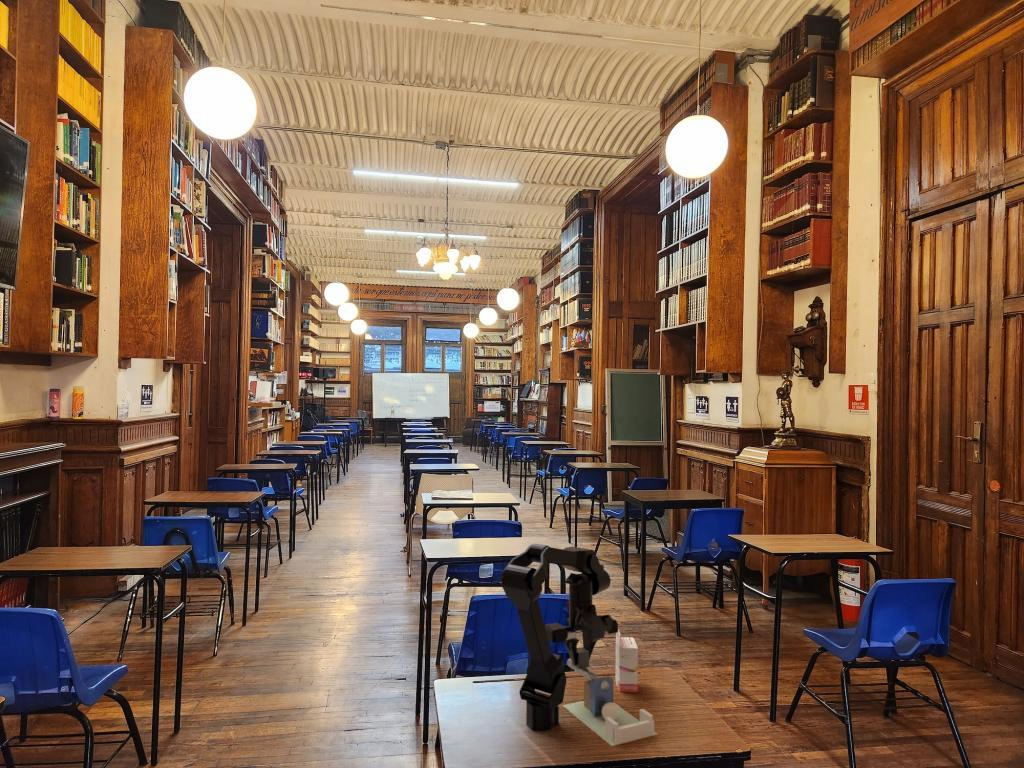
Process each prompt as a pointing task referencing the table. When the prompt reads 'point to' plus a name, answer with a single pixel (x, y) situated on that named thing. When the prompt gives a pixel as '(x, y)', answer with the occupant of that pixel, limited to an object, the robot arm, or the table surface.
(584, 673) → the player rod
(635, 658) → the ink cartridge box
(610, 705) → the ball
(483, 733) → the table surface
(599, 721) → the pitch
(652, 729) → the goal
